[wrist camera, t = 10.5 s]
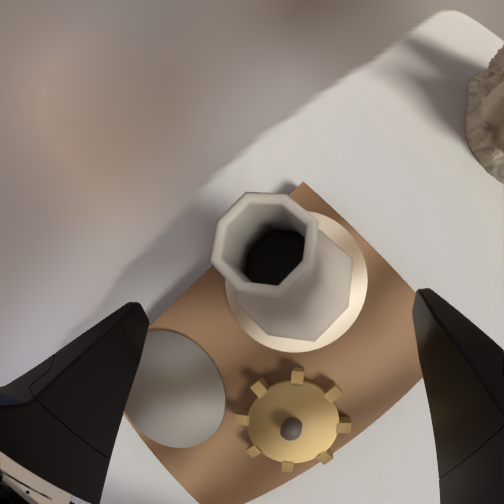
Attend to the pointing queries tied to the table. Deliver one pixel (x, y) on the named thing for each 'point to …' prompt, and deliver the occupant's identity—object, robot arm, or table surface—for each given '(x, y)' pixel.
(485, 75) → the ceramic cottage
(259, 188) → the table surface
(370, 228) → the table surface
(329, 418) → the gear board
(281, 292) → the flask
